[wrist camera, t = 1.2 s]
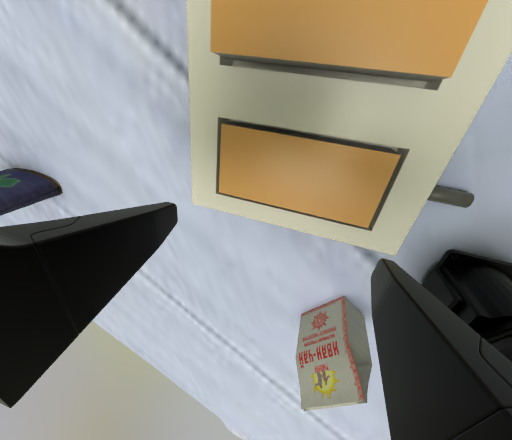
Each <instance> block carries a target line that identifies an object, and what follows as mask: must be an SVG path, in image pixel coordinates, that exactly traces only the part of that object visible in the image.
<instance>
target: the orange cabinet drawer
mask: <svg viewBox="0 0 512 440" xmlns="http://www.w3.org/2000/svg"><path fill="white" fill-rule="evenodd" d="M400 156H401V155H400V154H398V153H397V152H396V151H394V150H393V149H391V148H387V147H381V146H375V145H369V144H363V143H358V142H352V141H346V140H340V139H334V138H328V137H322V136H316V135H311V134H305V133H299V132H293V131H287V130H281V129H275V128H270V127H264V126H258V125H252V124H246V123H240V122H229V123H223V124H221V148H220V175H219V192H220V193H224V194H228V195H232V196H236V197H241V198H245V199H249V200H253V201H257V202H261V203H265V204H270V205H274V206H278V207H282V208H286V209H290V210H295V211H299V212H303V213H307V214H311V215H315V216H319V217H324V218H328V219H332V220H336V221H340V222H344V223H349V224H353V225H357V226H361V227H365V228H368V227H369V224H370V222H371V220H372V218H373V216H374V213H375V211H376V209H377V207H378V205H379V202H380V200H381V198H382V196H383V194H384V191H385V189H386V187H387V185H388V183H389V180H390V178H391V176H392V174H393V171H394V169H395V167H396V165H397V163H398V160H399V158H400Z"/></svg>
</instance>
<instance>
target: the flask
mask: <svg viewBox="0 0 512 440" xmlns="http://www.w3.org/2000/svg"><path fill="white" fill-rule="evenodd" d="M61 193H63V192H62V189H61V186H60V185H59V183H58V182H56V181H55V180H54V179H52V178H50V177H48V176H46V175H44V174H41V173H38V172H35V171H29V170H25V169H19V168H14V169H6V170H3V171H0V216H1V215H3V214H6V213H9V212H12V211H14V210H17V209H20V208H23V207H26V206H29V205H32V204H34V203H37V202H39V201H42V200H45V199H48V198H51V197H54V196H57V195H60V194H61Z"/></svg>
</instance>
